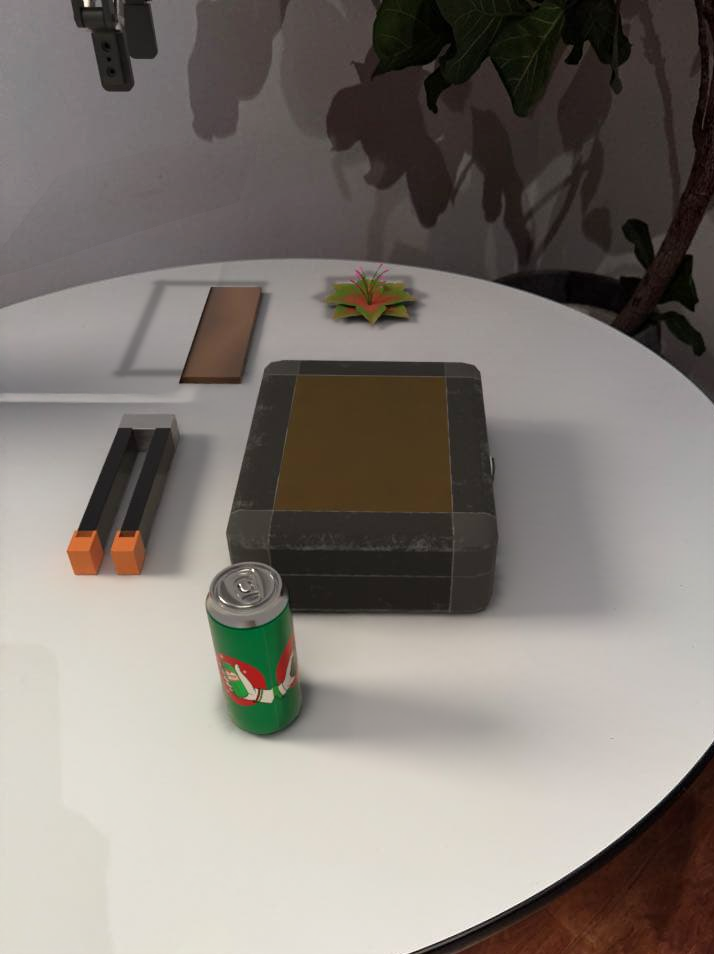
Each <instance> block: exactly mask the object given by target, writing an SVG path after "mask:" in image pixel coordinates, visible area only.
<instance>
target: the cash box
mask: <svg viewBox="0 0 714 954" xmlns="http://www.w3.org/2000/svg"><path fill="white" fill-rule="evenodd" d="M481 373H482V372H481V370H479V369H478V368H477V366H476V365H475V364H471V363H467V362H462V361H407V360H406V361H401V360H400V361H399V360H397V361H396V360H395V361H394V360H388V361H387V360H326V359H322V360H321V359H320V360H319V359H309V360H308V359H280V360H276V361H271V362H270V363H268V365H266V366H265V367H264V369H263V374H262V377H261V381H260V386H259V389H258V393H257V398H256V402H255V406H254V410H253V415H252V420H251V423H250V428H249V432H248V437H247V441H246V445H245V449H244V453H243V458H242V461H241V466H240V471H239V473H238V479H237V483H236V487H235V491H234V496H233V500H232V505H231V508H230V513H229V518H228V522H227V527H226V530H225V537H226V542H227V549H228V554H229V560H230V566H231V565H233V564H237V563H242V562H259V563H263V564H266V565H268V566H270V567H272V568H273V569H275V570H276V571H277V573H278V574H279V575H280V577H281V579H282V580H283V581H284V582H285V584H286V585H287V587H288V589H289V593H290V600H291V609H292V612H338V613H340V612H341V613H342V612H344V613H345V612H346V613H421V614H425V613H427V614H430V613H431V614H473V613H476V612H480V611H483V610H485V609H486V608H487V606H488V604H489V602H490V600H491V598H492V595H493V587H494V581H495V580H494V579H495V571H496V561H497V553H498V543H499V530H498V519H497V512H496V511H497V509H496V501H495V492H494V482H495V473H496V463H495V462H496V461H495V456H494V457H492V455H491V454H490V446H489V436H488V427H487V418H486V409H485V399H484V390H483V382H482V374H481Z"/></svg>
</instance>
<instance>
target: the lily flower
mask: <svg viewBox="0 0 714 954" xmlns="http://www.w3.org/2000/svg"><path fill="white" fill-rule="evenodd" d="M382 266H383V263H381V264H379V266H378V268H377V270H376V272H375V274H374V275H373V277H372V279H371V278H366V274H365V272H364V270H363V268H362V266H359V269H360V271H361V272H362V273H361V272H360V271H359V270H358V269H355V270H354V271H355V273H354V274H355V277H357V279H358V280H357V281H356V282H355V280H353V279H349V281H350V282H343V283H342V282H341V283H331V285H332V287H333V290H334V292H333V293H331V294H330V295H328V296H327V297H326V299H322V300H321V301H320V303H335V304H338V305H337V306H335V308H334V310H333V317H332V318H331V320H336V319H342V318H347V317H357V316H363V317H364V318H365V319H366V320H367V321H368V322H369V323H370V325H371V326H374V324H375V323H376V322H377V320H378V318H380V317H381V315H382V316H392V317H393V316H394V317H398V318H406V319H411V317H410V316H409V313H408V310H407V307H405V306H404V305H403V304H401V303H402V302H412V301H419V299H417V298H416V297H414V296H413V295H410V294H409V293H408V292H406V291H404V289H405V284H406V282H395V283H394V282H387V280H383V281H381V280H380V279H381V278H384V275H383V274H385V273H387V272H389V271H390V270H389V269H386V270H383V272H381V273H380V274H379V275H378V276H376V275H377V274H378V271H379V269H381V267H382ZM360 277H361V278H360ZM375 277H376V278H375Z"/></svg>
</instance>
